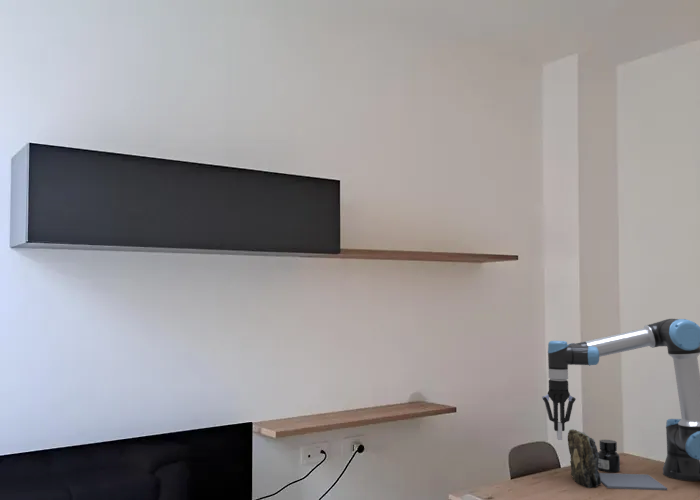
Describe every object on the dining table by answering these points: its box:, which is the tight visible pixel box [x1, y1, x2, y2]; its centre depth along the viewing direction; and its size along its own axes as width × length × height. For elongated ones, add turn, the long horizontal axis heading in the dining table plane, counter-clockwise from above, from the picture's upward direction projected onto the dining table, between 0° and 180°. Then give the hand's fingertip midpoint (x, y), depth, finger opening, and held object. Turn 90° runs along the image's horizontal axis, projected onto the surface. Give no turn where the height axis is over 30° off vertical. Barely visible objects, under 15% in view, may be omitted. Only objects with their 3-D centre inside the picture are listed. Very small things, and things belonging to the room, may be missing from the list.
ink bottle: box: [598, 439, 621, 473], centre depth 270 cm, size 10×9×12 cm
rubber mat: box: [599, 472, 668, 491], centre depth 251 cm, size 22×19×1 cm
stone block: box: [567, 428, 602, 489], centre depth 253 cm, size 18×9×20 cm, turn 12°
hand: (559, 439), depth 254 cm, fingers closed
